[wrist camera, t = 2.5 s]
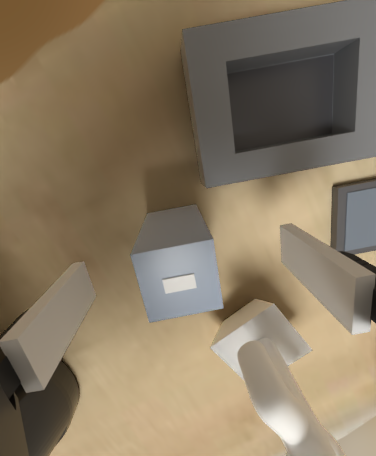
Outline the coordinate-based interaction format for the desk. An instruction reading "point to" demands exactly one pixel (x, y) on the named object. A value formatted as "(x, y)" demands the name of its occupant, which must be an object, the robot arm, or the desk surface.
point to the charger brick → (176, 264)
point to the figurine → (273, 375)
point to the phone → (354, 217)
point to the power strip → (282, 91)
